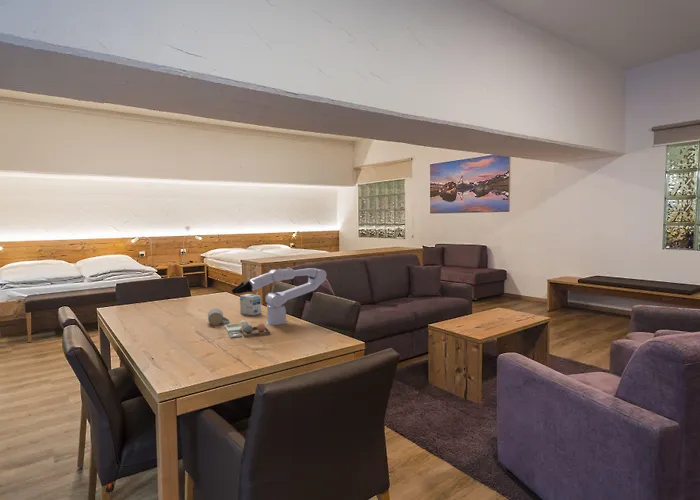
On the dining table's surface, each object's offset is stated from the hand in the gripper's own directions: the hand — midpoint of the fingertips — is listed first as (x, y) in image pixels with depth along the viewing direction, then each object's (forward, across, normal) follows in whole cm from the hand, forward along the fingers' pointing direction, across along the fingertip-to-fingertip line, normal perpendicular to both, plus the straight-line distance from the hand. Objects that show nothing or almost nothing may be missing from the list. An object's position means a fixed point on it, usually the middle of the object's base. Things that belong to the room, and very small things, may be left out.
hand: (234, 291), depth 203 cm
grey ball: (+3, +8, +20) cm, 22 cm away
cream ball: (+2, -2, +19) cm, 19 cm away
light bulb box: (-12, -32, +19) cm, 39 cm away
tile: (+9, +8, +19) cm, 22 cm away
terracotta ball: (-3, +9, +22) cm, 24 cm away
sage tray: (+4, -2, +18) cm, 19 cm away
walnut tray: (0, +8, +22) cm, 23 cm away
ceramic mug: (+9, -19, +15) cm, 25 cm away
